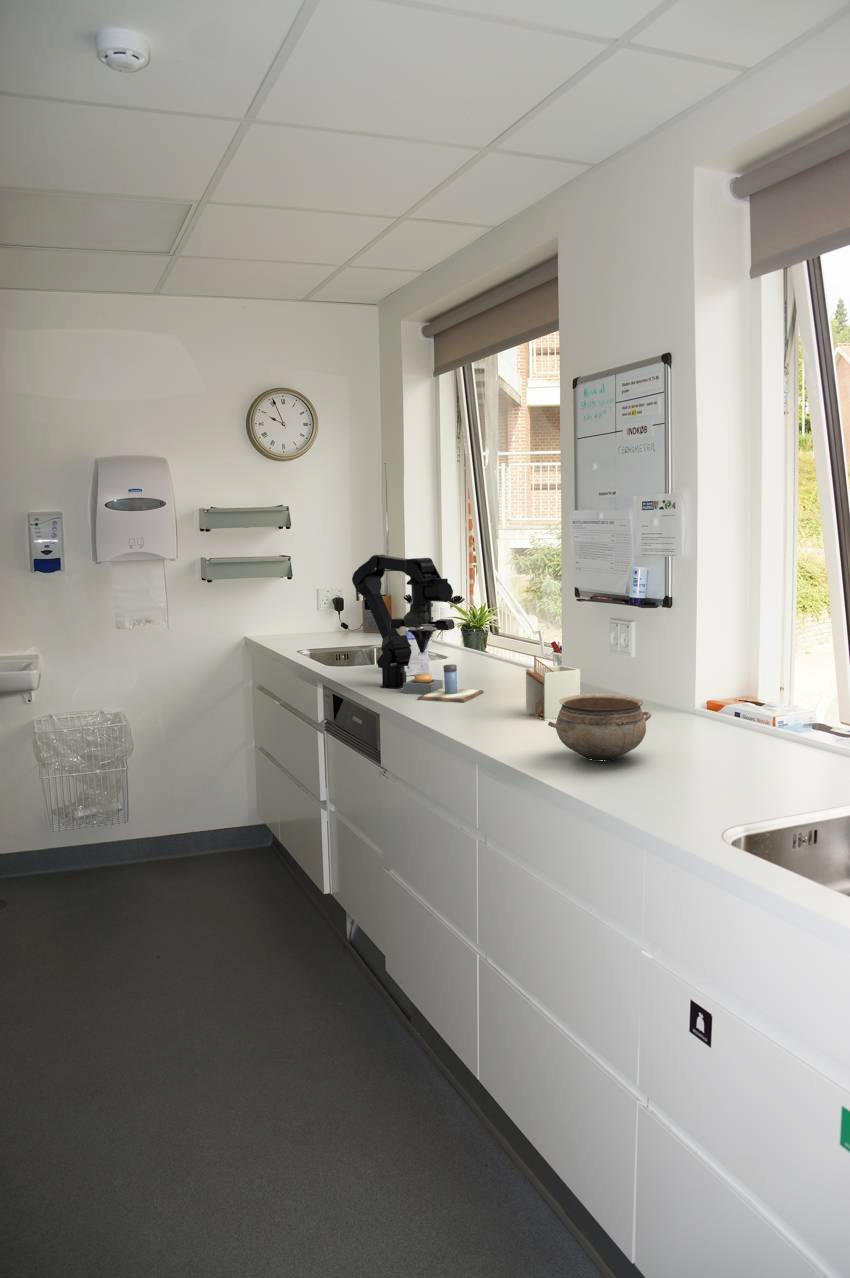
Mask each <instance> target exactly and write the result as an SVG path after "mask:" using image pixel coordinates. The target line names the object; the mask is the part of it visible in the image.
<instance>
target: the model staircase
mask: <svg viewBox="0 0 850 1278" xmlns="http://www.w3.org/2000/svg"><path fill="white" fill-rule="evenodd" d="M533 664H534V665H533V667H531V668H525V716H530V715H529V714H532V715H535V716H534V718H535V717H537V718H536V719H539V718H541V719H540V720H542V719H544V720H543V721H545V720H546V719H554V720H556V719H555V718H557V717H558V714H559V712H560V709H561V707H562V704H560V702H559V701H560V699H562V698H565V697H568V696H574V695H581V669H580V668H574V667H569V666H565V665H561V664H560V665H552V666H548V665H546V664H544V663H543V661H541V660H539V659H538V658H537V654H536V655H535V654H534V655H533ZM537 713H539V714H537ZM541 716H542V717H541ZM546 721H547V720H546Z"/></svg>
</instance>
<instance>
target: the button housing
mask: <svg viewBox="0 0 850 1278" xmlns="http://www.w3.org/2000/svg"><path fill="white" fill-rule="evenodd" d="M443 683H444V681H443V679H432V678H431V682H429V683H416V682H415V678H413V679H410V680H407V681H406V682H405V683H403V687H402V690H403V691H402V692H403V694H409V695H410V694H413V695H424V694H426V693H429V692H433V691H435V690H437V689H440V688H444V687H443V686H444V684H443Z"/></svg>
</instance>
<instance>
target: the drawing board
mask: <svg viewBox="0 0 850 1278" xmlns="http://www.w3.org/2000/svg"><path fill="white" fill-rule="evenodd" d="M482 694H484V689H483V690H482V689H467V688H457V693H455V694H445V687H443V688H440V689H437V690H435V691H433V692H429V693H426V694H421V695H420V696H418V697H417V699H418V701H431V702H433V701H434V702H447V703H449V702H450V703H467V702H468V701H470V700H472V699H474V698H477V697H478V696H481V695H482Z"/></svg>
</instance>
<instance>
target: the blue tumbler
mask: <svg viewBox="0 0 850 1278" xmlns="http://www.w3.org/2000/svg"><path fill="white" fill-rule="evenodd" d="M457 666H458V665H457V664H444V665H443V679H444V681H443V683H444V688H445V694H455V693H457V689H458V679H457V677H458V676H457V670H458V667H457Z"/></svg>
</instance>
